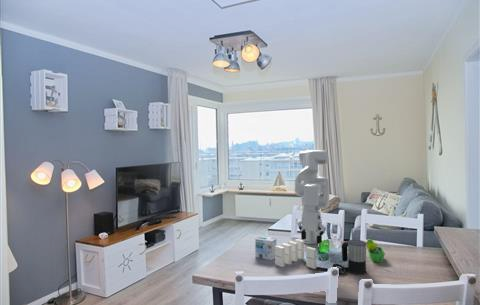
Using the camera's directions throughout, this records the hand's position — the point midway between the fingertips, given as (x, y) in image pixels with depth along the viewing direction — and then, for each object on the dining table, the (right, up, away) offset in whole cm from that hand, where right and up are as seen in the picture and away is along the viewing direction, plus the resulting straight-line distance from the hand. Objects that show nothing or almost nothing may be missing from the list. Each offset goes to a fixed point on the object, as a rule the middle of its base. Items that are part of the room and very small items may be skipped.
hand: (311, 241), depth 174 cm
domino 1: (-16, -14, +4) cm, 21 cm away
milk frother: (+18, -14, -6) cm, 24 cm away
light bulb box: (-22, -14, +17) cm, 31 cm away
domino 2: (-12, -14, +8) cm, 20 cm away
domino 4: (-4, -13, +15) cm, 20 cm away
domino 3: (-8, -14, +11) cm, 19 cm away
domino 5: (0, -14, +1) cm, 14 cm away
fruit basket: (+38, -13, +12) cm, 42 cm away
